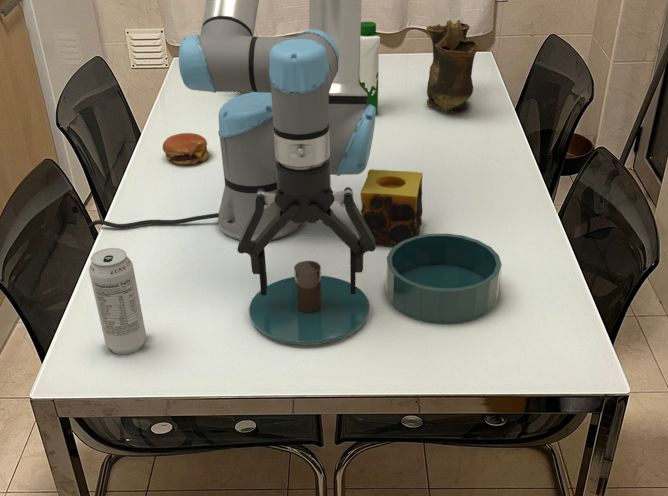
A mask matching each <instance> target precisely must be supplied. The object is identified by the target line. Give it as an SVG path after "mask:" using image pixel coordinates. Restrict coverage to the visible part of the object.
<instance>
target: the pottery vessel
mask: <svg viewBox="0 0 668 496" xmlns="http://www.w3.org/2000/svg"><path fill="white" fill-rule="evenodd" d="M470 28H471V25H469V24H467V23H463V22H461V20H460V19H458V20H457V21H456V22H455V23H454V22H453V21H451V19H449V20H447V22H446V24H445V25H441V24H437V25H427V26H426V28H425V29H426V31H427V32H428V34H429V35H430V37H431V42H432V63H431V65H430V66H429V71H428V72H429V73H428V81H427V89H426V96H427V98H428V99H427V100H426V105H427V107H430V106H433V107H434V108H436V109H439V111H443V110H445V111H446V113H447V114H449V115H450V114H451V113H452V114H460V113H464V112H466V111H467V110H468V109H469V103H468V100H469V99H470V98H471V97H472V95H473V93H474V84H473V83H474V82H473V78H472V74H473V66H474V60H475V57H476V54H477V52H478V51H479V43H478V42H477V41H473V40H467V36H468V35H467V34H468V31H469V30H470Z"/></svg>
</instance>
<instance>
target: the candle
mask: <svg viewBox="0 0 668 496" xmlns="http://www.w3.org/2000/svg"><path fill="white" fill-rule="evenodd" d="M423 174H424V173H423V172H421V171H408V170H407V171H405V170H388V169H368V171H367V175H366V176H367V177H366V179H365V181H364V183H363V185H362V188H361V190H360V201H361V210H359V211H360V213H361V215H362V217H363V218H364V220H365V222H366V224H367V226H368V227H369V229H370V231H371V233H372V235H373V236H374V238H375V246H382V247H394V246H396V245H397V244H398V243H400V242H401V241H404V240H406V239H409V238H412V237H415V236H420V233H421V225H422V217H423V200H422V199H423ZM359 239H360V240H361V241H363V240H362V239H361V237H360V236H359Z"/></svg>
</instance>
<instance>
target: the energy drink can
mask: <svg viewBox="0 0 668 496" xmlns="http://www.w3.org/2000/svg"><path fill="white" fill-rule="evenodd" d="M90 261H91V262H90V264H89V268H88V273H89V277H90V282H91V286H92V291H93V295H94V299H95V304H96V309H97V313H98V318H99V321H100V326H101V330H102V331H101V332H102V335H103V339H104V344H105V346H106V347H107V348H108V349H110V351H112V352H113V353H115V354H118V355H128V354H132V353H135V352H137V351H139V350H140V349H142V347H143V345H144V344H145V341H146V340H147V332H146V327H145V321H144V316H143V310H142V306H141V302H140V301H141V300H140V296H139V290H138V284H137V280H136V274H135V269H134V264H133V263H134V262H133V261H132V260H131V259H130V258H129V257H128V256H127V252H126V251H125V250H124V249H121V248H118V247H108V248H102V249H100V250H98V251H96V252H94V253H93V254H92V255H91V257H90Z"/></svg>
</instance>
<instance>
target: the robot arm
mask: <svg viewBox="0 0 668 496" xmlns="http://www.w3.org/2000/svg"><path fill="white" fill-rule="evenodd" d="M308 1H309V2H308V4H309V5H308V29H306V30H303V31H301V32H300V33H298V34H297V35H295V36H254V35H255V29H256V22H257V16H258V9H259V2H260V0H206V1H205V5H204V12H203V17H202V23H201V28H200V29H201V30H200V34H198V33H197V34H194V35H186V36H184V37H183V39H182V40H181V42H180V44H179V50H178V67H179V68H178V69H179V73H180V77H181V79H182V82H183V85H184V86H185V87H186V88H187V89H189V90H191V91H197V92H209V93H240V92H251V93H247V94H240V95H237V96H235V97H233V98H231V99H229V100H227V101H226V102H225V103H224V104H223V105H222V106H221V107H220V109H219V111H218V133H217V134H218V137H219V144H220V152H221V153H220V154H221V161H222V171H223V179H224V180H223V181H224V189H223V192H222V196H221V201H220V206H219V210H218V212H215V213H208V214H202V215H201V214H200V215H195V216H189V217H185V218H179V219H178V218H177V219H145V220H138V221H133V222H127V223H116V222H111V221H108V220H103V219H96V220H93V221H91V222H90V223H89V224H88V225H87V227H86V228H87V229H92V228H94V227H95V226H97V225H102V226H106V227H110V228H114V229H127V228H128V229H129V228H134V227H140V226H146V225H178V224H186V223H191V222H196V221H197V222H198V221H202V220H209V219H217V218H218V227H219V229H220V230H221V232H222V233H223V234H224V235H226V236H228V237H230V238H232V239H235V240H238V243H237V249H236V250H237V252H238V254H241V255H242V254H247V255H249V257H250V265H251V266H250V267H251V272H252V274H253V275H259V284H260V285H259V286H260V291H261V295H266V292H267V286H268V277H267V264H266V262H267V261H266V252H265V248H266V247H267V246H268V244H270V242H271V241H274V240H277V239H282V238H284V237H286V236H289V235H291V234H292V233H294V232H295V231H297V230H298V229H299V228H300V226H301V225H302V223H307V224H317V222H319V221H320V222H322V223H323V225H325V226H326V227H328V228H329V229H330V230H331V231H332V233H334V234H335V235H336V236H337V237H338V238H339V239H340V240H341V241H342V242H343V243H344V244H345V245H346V246H347V247H348V248H349V265H350V269H349V271H350V276H349V277H350V283H351V294H356V287H357V286H356V281H357V280H356V279H357V278H356V275H357V274H359V273H363V271H364V255H365V254H366V253H368V252H374V251H376V245H375V238H374V236H373V235H372V233H371V231H370V229H369V227H368V226H367V224H366V222H365V220H364V218H363V217H362V213H361V212H360V211H361V210H359V208H358V206H357V204H356V202H355V200H354V199H355V198H354V193H353V189H352V187H350V186H347V187H345V188H344V190H341V191H333V189H332V185H331V184H332V183H331V175H332V176H333V175H336V176H337V177H341V176H344V175H345V176H348V175H349V176H353V175H354V176H355V175H359V174H362V173H363V172H364V171H365V170H366V168H367V165H368V163H369V158H370V154H371V150H372V144H373V138H374V132H375V127H376V126H375V125H376V116H377V115H376V108H375V107H374V106H372V105H371V104H370V105H368V94H367V93H366V92H365V90H364V89H363V88H362V87H361V86H360V84H359V72H360V36H361V22H362V0H308ZM335 202H336V203H338V204H339V206H340V207H342V208H345V212H346V214H347V216H348V218H349V219H350V222H351V223H352V225H353V227H354V229H355V230H356V232H357V234H358V236H359V237H358V236H357V235H356V234H355V233H354V232H353V231H352V230H351V229H350V227H348V226H347V224H346V223H345V222H344V221H342V219H340V217H339V216H337V214H336V213H335V212H334V210H333V208H332V206H333V204H334V203H335ZM360 237H361V239H362V240H363V241H361V240H360ZM356 273H357V274H356Z"/></svg>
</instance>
